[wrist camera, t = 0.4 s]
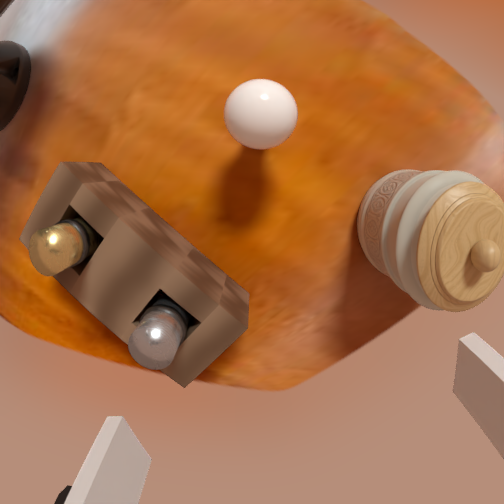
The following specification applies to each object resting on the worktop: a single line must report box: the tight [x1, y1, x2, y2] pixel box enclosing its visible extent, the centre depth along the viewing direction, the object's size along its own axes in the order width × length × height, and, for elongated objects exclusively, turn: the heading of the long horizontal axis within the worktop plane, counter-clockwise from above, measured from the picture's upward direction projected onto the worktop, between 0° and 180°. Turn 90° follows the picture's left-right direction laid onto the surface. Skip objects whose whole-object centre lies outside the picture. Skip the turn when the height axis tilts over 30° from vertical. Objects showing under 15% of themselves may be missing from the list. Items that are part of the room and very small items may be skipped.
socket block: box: [19, 162, 249, 388], centre depth 32 cm, size 24×10×9 cm, turn 48°
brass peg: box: [29, 217, 104, 276], centre depth 26 cm, size 4×4×8 cm
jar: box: [357, 170, 504, 312], centre depth 27 cm, size 13×13×18 cm
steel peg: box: [128, 293, 191, 370], centre depth 28 cm, size 4×4×8 cm
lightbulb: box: [224, 79, 298, 149], centre depth 28 cm, size 6×6×11 cm
